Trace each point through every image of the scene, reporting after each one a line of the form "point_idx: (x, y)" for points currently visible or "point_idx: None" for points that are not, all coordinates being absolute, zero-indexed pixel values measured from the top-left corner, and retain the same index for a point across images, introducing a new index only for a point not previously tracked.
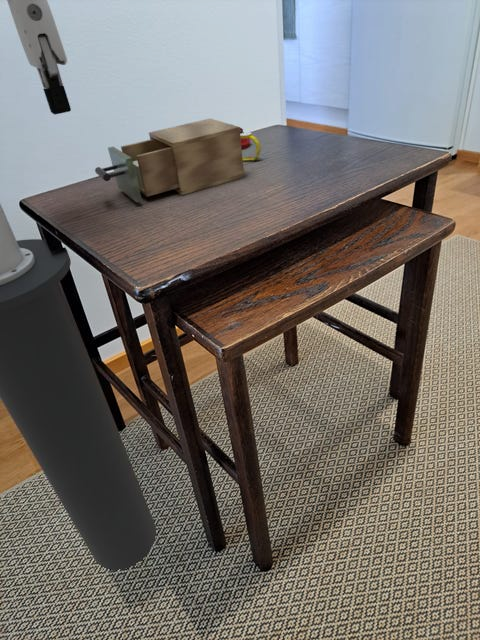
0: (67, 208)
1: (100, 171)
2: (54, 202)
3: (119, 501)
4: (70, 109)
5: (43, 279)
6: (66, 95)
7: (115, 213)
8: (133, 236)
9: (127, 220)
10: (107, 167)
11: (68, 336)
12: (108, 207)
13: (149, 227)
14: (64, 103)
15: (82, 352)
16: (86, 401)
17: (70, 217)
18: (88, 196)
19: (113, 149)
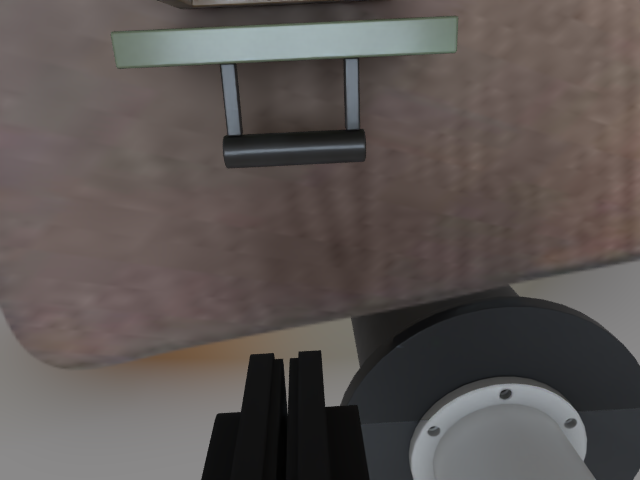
0: (226, 266)
1: (300, 158)
2: (129, 293)
3: None
4: (320, 353)
5: (628, 369)
6: (325, 421)
7: (401, 139)
8: (630, 142)
9: (496, 122)
10: (232, 110)
11: (509, 286)
12: None
13: (612, 77)
14: (359, 417)
15: None
16: None
17: (321, 270)
18: (146, 182)
19: (189, 51)
